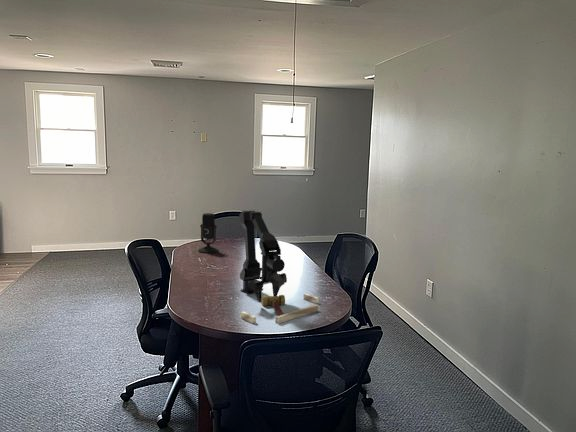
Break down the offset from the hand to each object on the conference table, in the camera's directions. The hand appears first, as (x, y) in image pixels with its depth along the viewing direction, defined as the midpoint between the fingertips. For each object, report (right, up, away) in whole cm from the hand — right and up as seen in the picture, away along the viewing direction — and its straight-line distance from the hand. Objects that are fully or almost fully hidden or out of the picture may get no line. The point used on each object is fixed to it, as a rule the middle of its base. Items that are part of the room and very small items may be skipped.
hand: (267, 300), depth 206 cm
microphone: (-44, +14, +101) cm, 111 cm away
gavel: (+5, -4, -7) cm, 10 cm away
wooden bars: (+9, -4, -9) cm, 13 cm away
